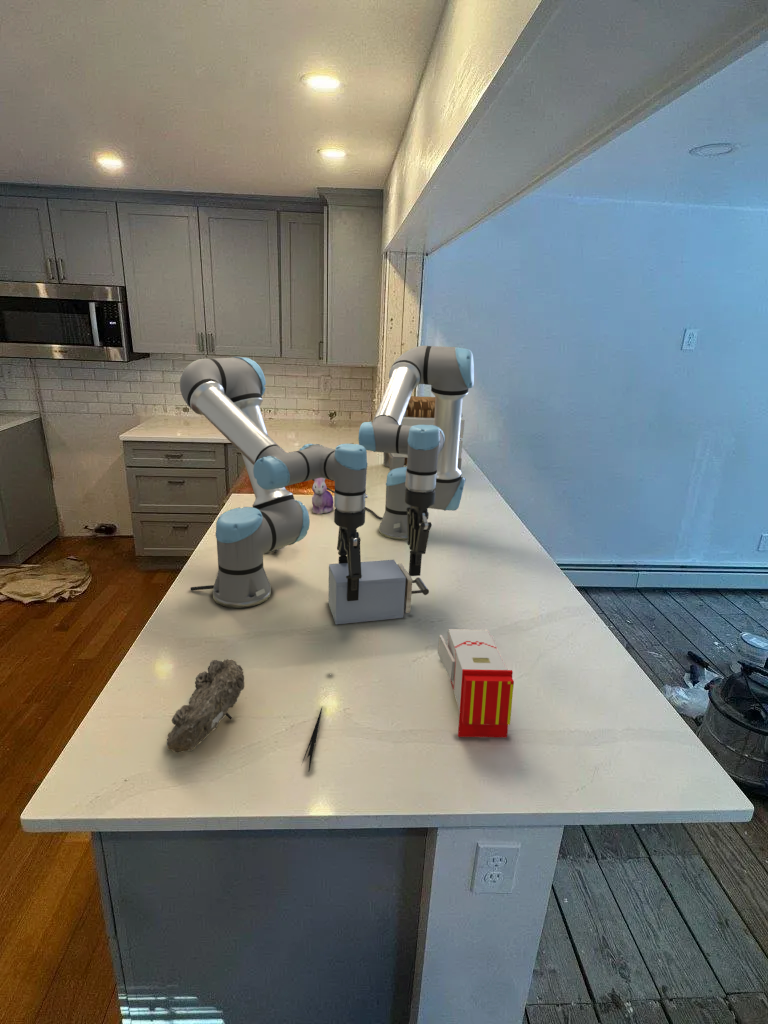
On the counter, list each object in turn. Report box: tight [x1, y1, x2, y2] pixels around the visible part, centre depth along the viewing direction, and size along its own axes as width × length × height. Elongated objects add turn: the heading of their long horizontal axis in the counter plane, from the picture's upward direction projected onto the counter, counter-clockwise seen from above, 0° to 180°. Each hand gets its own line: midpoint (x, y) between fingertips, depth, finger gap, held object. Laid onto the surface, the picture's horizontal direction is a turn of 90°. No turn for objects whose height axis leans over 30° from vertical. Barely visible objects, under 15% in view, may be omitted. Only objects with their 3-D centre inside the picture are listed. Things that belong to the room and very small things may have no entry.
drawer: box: [397, 562, 430, 614], centre depth 148 cm, size 22×10×10 cm, turn 105°
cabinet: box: [327, 559, 406, 625], centre depth 147 cm, size 18×11×12 cm, turn 105°
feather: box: [301, 673, 332, 771], centre depth 108 cm, size 2×28×2 cm
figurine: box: [311, 478, 334, 515], centre depth 216 cm, size 9×10×15 cm
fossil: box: [166, 658, 245, 754], centre depth 106 cm, size 22×10×15 cm
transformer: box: [383, 395, 465, 472], centre depth 268 cm, size 34×33×41 cm
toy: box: [437, 628, 515, 738], centre depth 117 cm, size 12×13×30 cm
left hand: (347, 589), depth 145 cm, fingers closed on cabinet, 11 cm apart
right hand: (414, 574), depth 148 cm, fingers closed
